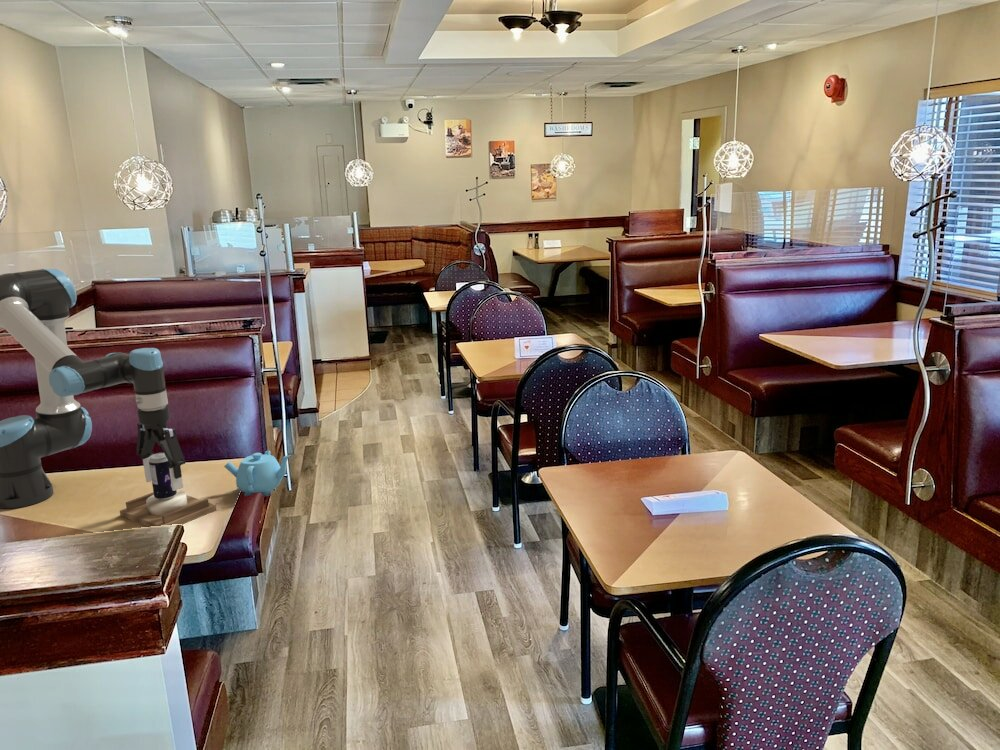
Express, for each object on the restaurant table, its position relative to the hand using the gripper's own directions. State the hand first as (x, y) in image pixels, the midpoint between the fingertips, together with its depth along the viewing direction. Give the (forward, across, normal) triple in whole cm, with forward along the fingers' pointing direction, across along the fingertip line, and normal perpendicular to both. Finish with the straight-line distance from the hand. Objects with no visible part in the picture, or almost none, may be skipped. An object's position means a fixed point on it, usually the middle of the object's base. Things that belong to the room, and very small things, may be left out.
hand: (164, 484), depth 208 cm
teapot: (+8, +9, +24) cm, 27 cm away
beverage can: (+4, 0, 0) cm, 4 cm away
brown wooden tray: (+8, 0, 0) cm, 8 cm away
